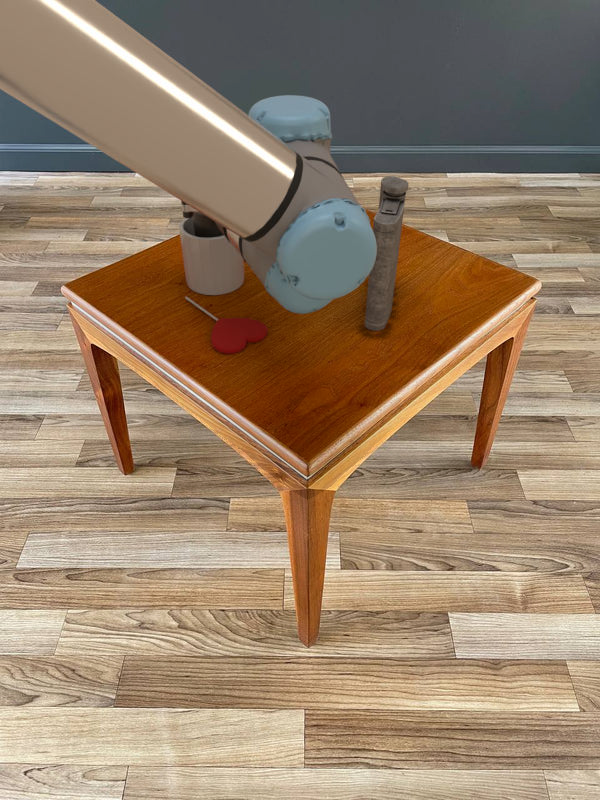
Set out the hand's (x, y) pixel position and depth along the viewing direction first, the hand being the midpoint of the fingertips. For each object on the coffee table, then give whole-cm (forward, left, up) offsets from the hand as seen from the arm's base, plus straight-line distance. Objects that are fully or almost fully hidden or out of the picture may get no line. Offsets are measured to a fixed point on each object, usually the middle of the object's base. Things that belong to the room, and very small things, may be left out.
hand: (191, 151), depth 89 cm
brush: (+3, -5, -11) cm, 12 cm away
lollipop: (+5, -16, -18) cm, 24 cm away
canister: (+3, -5, -17) cm, 18 cm away
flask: (+28, -9, -18) cm, 34 cm away
